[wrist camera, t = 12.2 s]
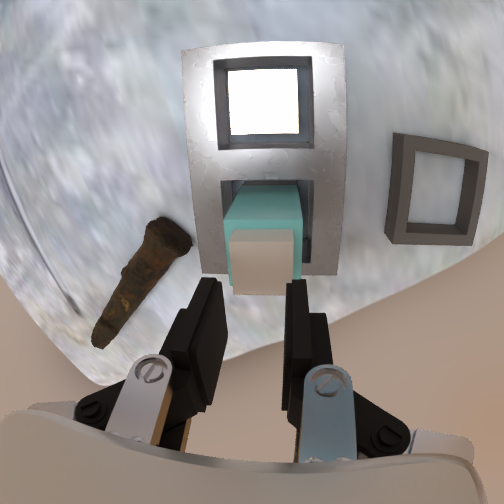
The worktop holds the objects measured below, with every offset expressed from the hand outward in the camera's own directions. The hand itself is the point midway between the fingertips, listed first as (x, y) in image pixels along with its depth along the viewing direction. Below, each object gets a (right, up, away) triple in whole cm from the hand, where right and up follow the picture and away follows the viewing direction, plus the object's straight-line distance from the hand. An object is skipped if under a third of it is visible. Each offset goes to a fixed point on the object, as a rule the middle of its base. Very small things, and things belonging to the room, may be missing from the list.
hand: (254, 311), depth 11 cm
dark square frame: (+15, +8, +9) cm, 19 cm away
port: (+1, +10, +10) cm, 14 cm away
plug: (+1, +6, +12) cm, 13 cm away
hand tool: (-12, -2, +18) cm, 21 cm away
